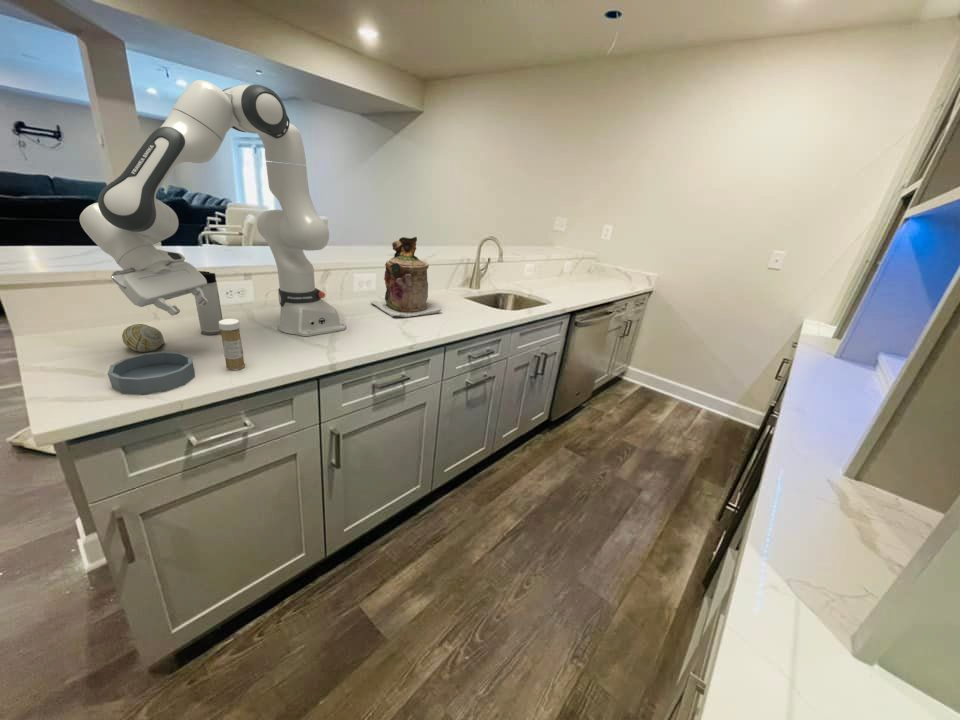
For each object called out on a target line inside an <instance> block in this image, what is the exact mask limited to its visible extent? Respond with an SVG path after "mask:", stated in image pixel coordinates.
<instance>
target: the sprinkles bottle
mask: <svg viewBox="0 0 960 720" xmlns="http://www.w3.org/2000/svg"><path fill="white" fill-rule="evenodd" d="M240 327H241V325H240V321H239V320H238V319H236V318H224V319H223V320H220V321H219V329H220V331H221V335H220V336H221V341H222V349H223V356H224V359H225V368H226V369H227V370H230V371H238V370H242V369H243V368H245V366H246V363H245V359H244V357H245V356H244V350H243V349H244V348H243V342H242V337H241V331H240V329H241V328H240Z"/></svg>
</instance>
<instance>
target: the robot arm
mask: <svg viewBox="0 0 960 720" xmlns="http://www.w3.org/2000/svg"><path fill="white" fill-rule="evenodd" d="M230 129H234V130H235V131H237V132H241V133H248V134H249V133H250V134H256V135H258V137H259V139H260V140H261V142H262V144H263V149H264V157H265V166H266V173H267V174H266V175H267V183H268V188H269V189H268V190H270V192H271V193H272V195H273V196H274V197H275V198H276V200H277V202H278V203H279V205H280V207H281V209H270V210H264V211H262V212H261V213H260V214H259V215H258V217H257V220H256V221H257V222H256V227H257V231H258V233H259V235H260V236H261V237H262V238H263V239H264V240H265V242H266V243H267V244H268V247H269V248H270V251H271V253H272V256H273V259H274V261H275V264H276V269H277V277H278V286H279V287H278V292H277V294H278V296H277V297H278V303H279V305H280V315H279V322H278V327H277V329H278V330H279V331H280V332H283V333H286V334H290V335H298V336H301V337H310V336H317V335H321V334H322V335H324V334H328V333H334V332H341V331H345V330H346V329H347V325H346V322H345V321H344V319H341V318H340V316H339V312H338V311H337V308H335V307H334V306H333V305H332V304H330V303H328V302H327V301H326V300H324V299H325V297H326V294H325V292H323V291H321V290H320V289H318V288H316V282H315V269H314V266H313V264H312V263H311V262H310V260H309V259H308V258H307V255H305V253H304V251H307V252H308V251H313V252H314V251H321V250H323V249H324V248H325V247H327V245H328V243H329V240H330V232H329V231H330V230H329V227H328V226H327V224H326V223H325V221H323V219H322V218H321V217H320V215H319V214H318V212H317V210H316V209H315V205H314V204H313V201H312V197H311V194H310V189H309V180H308V169H307V160H306V154H305V148H304V146H305V145H304V143H303V138H302V136H301V135H302V134H301V131H300V130H299V129H298V127H296V126H295V125H294V124H292V123H291V121H290V118H289V116H288V115H287V110H286V108H285V105H284V103H283V101H282V99H281V98H280V96H279V95H278V94H277V93H276V92H275V91H274V90H272V89H271V88H269V87H267V86H265V85H261V84H240V85H237V86H235V87H227V88H224V89H221V88H220V87H218V86H217V85H216V84H214V83H212V82H210V81H207V80H204V79H197V80H194V81H192V82H191V83H190V84H189V85H188V86H187V87H186V89H185V90H183V92H182V93H181V95H180V96H179V98H178V99H177V100H176V102H175V103H174V105H173V107H172V109H171V110H170V113H169V114H168V115H167V117H166V119H165V121H164V122H163V123H162V124H161V126H160V127H158V128H157V129H155V130H154V131H153V132H152V133H151V134H150V135H149V136H148V137H147V138H146V140H145V141H144V143H143V144H142V145H141V147H140V148H139V150H138V151H137V152H136V154H134V156H133V158H132V159H131V160H130V162H129V164H128V165H127V167H126V168H125V169H124V171H123V172H122V173H121V174H120V175H119V176H118V177H117V178H116V179H114V180H113V181H111V182H110V183H108V184H107V185H106V186H104V187H103V188H102V189H101V191H100V192H99V194H98V197H97V198H98V199H97V202H94V203H91V204H90V205H88V206H86V207H85V208H84V209H83V211H82V212H81V213H80V215H79V223H80V225H81V226H80V227H81V228H82V229H83V231H84V232H85V233H86V235H88V237H89V238H90V239H91V240H92V242H94V243H95V244H96V245H97V246H98V248H100V249H101V250H102V251H103V252H104V253H105V254H107V255H109V256H111V258H113V260H114V261H115V262H116V264H117V265H118V267H120V268H121V270H115V271H113V272H112V274H111V275H110V276H111V280H112V281H113V282H114V284H115V285H117V286H118V288H119V290H121V292H122V293H123V295H124V296H125V297H126V298H127V299H128V300H129V301H130V302H131V303H132V304H133V305H134V306H137V307H140V308H144V307H148V306H151V305H153V306H155V307H156V308H157V309H160V310H163V311H165V312H167V313H168V314H169V315H170V316H171V317H173V316H176V315H178V314H179V313H181V309H179V307H177V306H176V304H175V305H174V304H173V305H171V304H169V303H167V302H166V301H168V300H170V299H171V300H173V299H176V298H179V297H181V296H186V295H188V294H191V295H193V296H194V297H195V295H196V297H197V299H198V300H197V301H195V303H196V302H197V303H198V304H199V305H200V306H203V305H206V304H207V303H208V300H207V299H206V298H205V297H204V294H203V291H202V289H203V288H204V287H205V286H206V285H207V281H206V279H205V277H204V276H203V275H202V274H201V273H200V272H199V271H200V270H198V269H197V268H196V267H195V266H194V265H193V264H191V263H190V262H188V261H186V257H185V256H184V255H183V254H182V253H180V252H174V251H168V250H163V249H158V248H156V246H154V245H155V244H159V243H161V242H163V241H165V240H167V239H169V238H171V237H172V236H174V235H175V234H176V233H177V232H178V230H179V226H180V221H179V217H178V215H177V213H176V212H175V210H174V209H173V208H172V207H170V206H169V205H167V204H166V203H164V202H162V201H161V200H159V199H158V198H157V193H158V191H159V190H160V188H161V186H162V185H163V184H164V182H165V181H166V179H167V178H168V176H169V175H170V173H171V172H172V171H173V169H174V168H175V167H176V166H178V165H179V164H182V163H192V164H204V163H207V162H210V161H211V160H212V159H213V158H214V156H215V155H216V154H217V152H218V151H219V150H220V148H221V145H222V144H223V141H224V140H225V138H226V135H227V133H228V132H229V131H230Z"/></svg>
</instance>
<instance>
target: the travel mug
mask: <svg viewBox="0 0 960 720" xmlns="http://www.w3.org/2000/svg"><path fill="white" fill-rule="evenodd" d="M198 271H199V272H200V273H201V274H202V275H203V276H204V277H205V279H206V281H207V285H206V286H205V287H204V288H203V289H202V291H203V294H204V297H205V298H206V299H207V300H208V303H207V304H206V305H203V306H200V305H199V304H198V303H197V302H196V301H197V300H198V299H197V297H196V295H195V296H194V299H195V300H194V301H195V305H196V311H197V317H198V321H199V326H200V331H201V334H203V335H205V336H217V335H220V334H221V331H220V329H219V321H220V320H223V313H222V307H221V301H220V300H221V299H220V295H219V289H218V282H217V276H216V273H214V272H211V271H204V270H203V271H202V270H198Z"/></svg>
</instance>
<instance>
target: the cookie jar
mask: <svg viewBox="0 0 960 720" xmlns="http://www.w3.org/2000/svg"><path fill="white" fill-rule="evenodd" d="M417 241H418V237H417V236H413V237H406V236H405V237H404V236H403V237H399V239H398V240H395V241H393V242H392V243H391V247H392V250H393V251H395V253H394V255H393V257H391V258H389V260H387V261H386V262H385V264H384V265H385V271H384V275H383V276H384V277H383V280H384V284H385V288H386V290H385V295H384V300H376V301H375V300H370V304H371V305H374V306H376V307H377V308H378V309H380V310H381V311H383V312H384V313H386V314H387V315H389V316H390V317H392V318H393V317H401V318H402V317H403V318H409V317H415V316H416V317H417V316H423V315H431V314H432V315H433V314H441V311H442V310H443V309H442V308H440V307H437V306H435V305H432V304H429V303H427V300H428V298H429V282H428V269H429V267H430V264H429V263H428V262H426V261H424V260H421V259H419V258H418V257H417V256H415V252H416V251H417V247H416V246H417Z"/></svg>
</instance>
